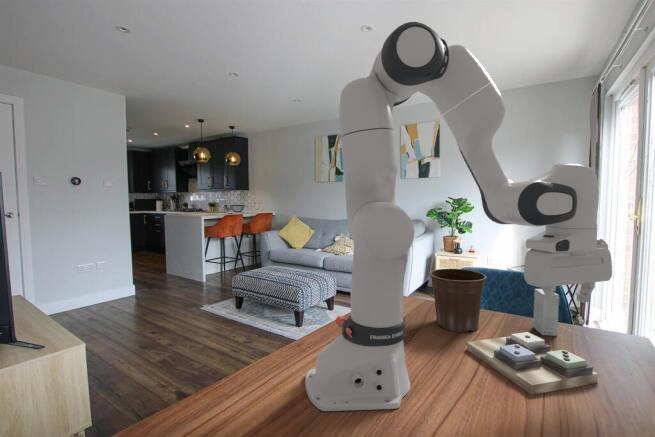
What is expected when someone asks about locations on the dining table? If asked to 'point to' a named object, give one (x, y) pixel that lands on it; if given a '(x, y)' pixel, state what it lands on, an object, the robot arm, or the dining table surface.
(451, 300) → the plant pot
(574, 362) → the three dot key
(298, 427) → the dining table surface
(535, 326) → the skincare box
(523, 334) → the one dot key
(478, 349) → the key board
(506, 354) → the two dot key
